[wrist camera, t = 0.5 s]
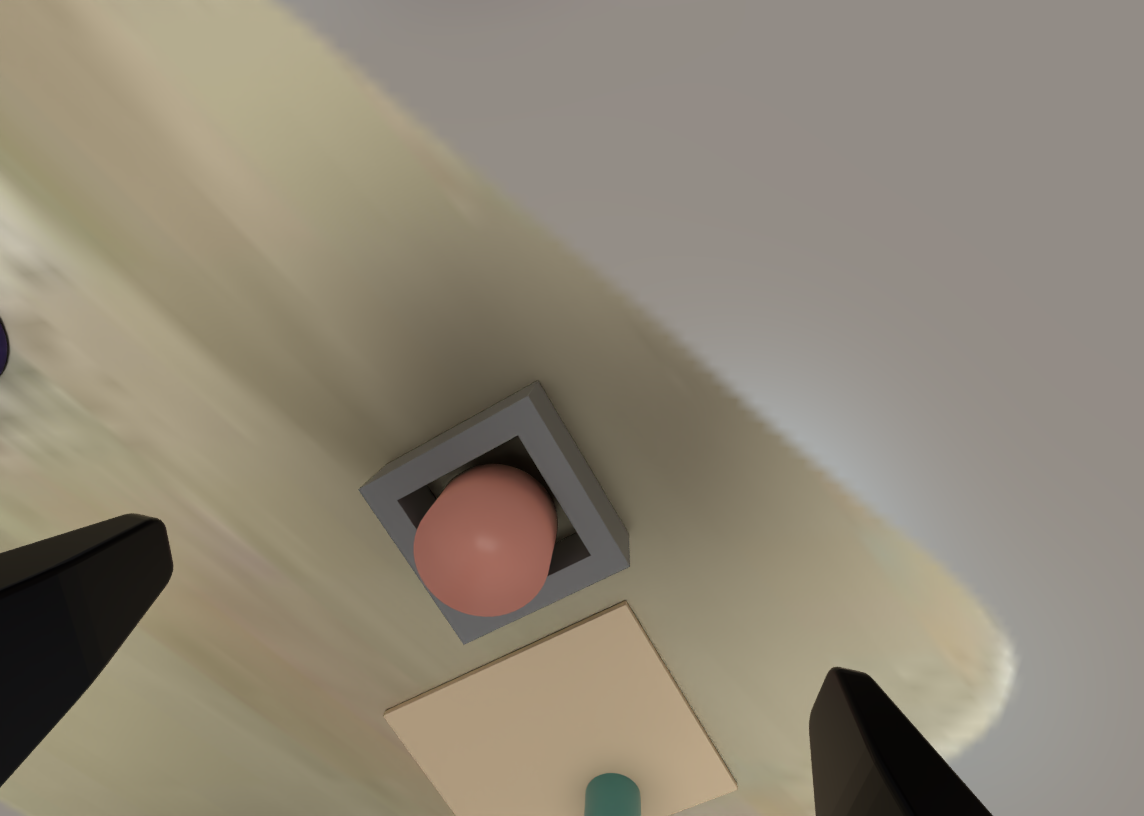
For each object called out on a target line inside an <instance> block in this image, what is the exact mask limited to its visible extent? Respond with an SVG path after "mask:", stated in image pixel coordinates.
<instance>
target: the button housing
mask: <svg viewBox="0 0 1144 816" xmlns="http://www.w3.org/2000/svg"><path fill="white" fill-rule="evenodd" d="M516 436H519V438H520V440H521V441H522V443H523V445H524V446H525V448H526V450H527V451H528V453H529V454H530V456H531V458H532V459H533V461H534V463H535V464H536V466H537V468H538V469H539V471H540V472H541V474H542V476H543V477H544V479H545V481H546V482H547V484H548V486H549V487H550V489H551V491H552V492H553V494H554V495H555V497H556V499H557V500H558V502H559V504H560V505H561V507H562V509H563V510H564V512H565V513H566V515H567V517H568V518H569V520H570V522H571V523H572V525H573V527H574V528H575V530H576V532H577V533H575V534H573V535H571V536H569V537H567V538H565V539H563V540H561V541H559V542H557V543H555V545H554V549H553V553H552V558H551V562H550V567H549V571H548V575H547V578H546V581H545V583H544V585H543V587H542V588H541V590H540V591H539V593H538V594H537V595H536V596H535V597H534V598H533V599H532V600H531V601H530V602H529V603H528V604H526V605H525V606H524V607H522V608H520V609H518V610H516V611H514V612H511V613H509V614H505V615H501V616H493V617H482V616H474V615H469V614H465V613H462V612H460V611H457V610H455V609H453V608H451V607H449V606H447V605H446V604H444V603H443V602H441V601H440V600H439V599H438V598H436V597H435V596H434V595H433V594H432V593H431V592H430V590H429V589H428V588H427V587H426V585H425V584H424V582H423V581H422V579H421V577H420V575H419V573H418V570H417V567H416V564H415V559H414V539H415V534H416V531H417V528H418V526H419V524H420V522H421V520H422V519H423V517H424V516H425V514H426V513H427V512H428V510H429V509H430V508H431V506H432V505H433V504H434V502H435V501H436V499H435V497H434V496H433V494H432V493H431V491H430V490H429V488H428V487H427V484H429V483H430V482H432V481H434V480H436V479H438V478H440V477H441V476H443V475H445V474H447V473H449V472H451V471H453V470H454V469H456V468H458V467H460V466H462V465H464V464H466V463H467V462H469V461H471V460H473V459H475V458H477V457H479V456H480V455H482V454H484V453H486V452H488V451H490V450H492V449H493V448H495V447H497V446H499V445H501V444H503V443H505V442H506V441H508V440H510V439H512V438H514V437H516ZM358 490H359V491H360V493H361V494H362V496H363V497H364V499H365V500H366V502H367V503H368V504H369V506H370V507H371V509H372V510H373V512H374V513H375V515H376V516H377V518H378V519H379V521H380V522H381V524H382V525H383V527H384V528H385V529H386V531H387V532H388V534H389V535H390V537H391V538H392V540H393V541H394V543H395V544H396V546H397V547H398V549H399V550H400V552H401V553H402V554H403V556H404V557H405V559H406V560H407V562H408V563H409V565H410V566H411V568H412V569H413V571H414V572H415V574H416V575H417V577H418V578H419V580H420V581H421V582H422V584H423V585H424V587H425V588H426V590H427V591H428V593H429V594H430V596H431V597H432V599H433V600H434V602H435V603H436V605H437V606H438V607H439V609H440V610H441V612H442V613H443V615H444V616H445V618H446V619H447V621H448V622H449V624H450V625H451V627H452V628H453V630H454V631H455V632H456V634H457V635H458V637H459V638H460V640H461V641H462V643H463V644H466V643H469V642H471V641H473V640H475V639H477V638H479V637H481V636H483V635H486V634H488V633H490V632H492V631H494V630H496V629H498V628H500V627H503V626H505V625H507V624H509V623H511V622H513V621H515V620H517V619H520V618H522V617H524V616H526V615H528V614H530V613H532V612H534V611H537V610H539V609H541V608H543V607H545V606H547V605H549V604H551V603H554V602H556V601H558V600H560V599H562V598H564V597H566V596H568V595H571V594H573V593H575V592H577V591H579V590H581V589H583V588H585V587H588V586H590V585H592V584H594V583H596V582H598V581H600V580H602V579H605V578H607V577H609V576H611V575H613V574H615V573H617V572H619V571H622V570H624V569H626V568H628V567H630V552H629V534H628V532H627V530H626V528H625V527H624V525H623V523H622V522H621V520H620V518H619V517H618V515H617V513H616V512H615V510H614V508H613V506H612V505H611V503H610V501H609V500H608V498H607V496H606V495H605V493H604V491H603V490H602V488H601V486H600V484H599V483H598V481H597V479H596V478H595V476H594V474H593V473H592V471H591V469H590V467H589V466H588V464H587V462H586V461H585V459H584V457H583V456H582V454H581V452H580V451H579V449H578V447H577V445H576V444H575V442H574V440H573V439H572V437H571V435H570V434H569V432H568V430H567V429H566V427H565V425H564V423H563V422H562V420H561V418H560V417H559V415H558V413H557V412H556V410H555V408H554V407H553V405H552V403H551V401H550V400H549V398H548V396H547V395H546V393H545V391H544V390H543V388H542V386H541V385H540V383H539V381H536V382H534V383H532V384H531V385H529V386H527V387H525V388H523V389H522V390H520V391H518V392H516V393H514V394H513V395H511V396H509V397H507V398H505V399H504V400H502V401H500V402H498V403H496V404H495V405H493V406H491V407H489V408H487V409H486V410H484V411H482V412H480V413H478V414H477V415H475V416H473V417H471V418H469V419H468V420H466V421H464V422H462V423H460V424H459V425H457V426H455V427H453V428H451V429H450V430H448V431H446V432H444V433H442V434H441V435H439V436H437V437H435V438H433V439H432V440H430V441H428V442H426V443H424V444H423V445H421V446H419V447H417V448H415V449H414V450H412V451H410V452H408V453H406V454H405V455H403V456H401V457H399V458H397V459H396V460H394V461H392V462H390V463H388V464H387V465H385V466H384V467H383V468H382V469H381V470H379V471H378V472H377V473H376V474H375V475H374V476H373V477H372V478H371V479H369V480H368V481H367V482H366V483H365V484H364V485H363V486H362V487H361V488H359V489H358Z"/></svg>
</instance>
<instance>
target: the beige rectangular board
mask: <svg viewBox="0 0 1144 816" xmlns="http://www.w3.org/2000/svg"><path fill="white" fill-rule="evenodd" d="M383 717H384V718H385V719H386V721H387V722H388V724H389V725H390V726H391V728H392V729H393V730H394V732H395V733H396V735H397V736H398V737H399V739H400V740H401V741H402V743H403V744H404V745H405V747H406V748H407V750H408V751H409V752H410V754H411V755H412V756H413V758H414V759H415V761H416V762H417V763H418V765H419V766H420V767H421V769H422V770H423V771H424V773H425V774H426V776H427V777H428V778H429V780H430V781H431V782H432V784H433V785H434V787H435V788H436V789H437V791H438V792H439V793H440V795H441V796H442V797H443V799H444V800H445V802H446V803H447V804H448V806H449V807H450V808H451V810H452V811H453V813H454V814H455V815H456V816H584V810H585V794H586V788H587V786H588V784H589V782H590V781H591V780H592V779H594V778H595V777H597V776H599V775H601V774H605V773H617V774H621V775H624V776H626V777H628V778H630V779H631V780H632V781H634V783H635V784H636V785H637V786H638V788H639V791H640V797H641V816H669V815H672V814H674V813H677V812H680V811H682V810H685V809H688V808H690V807H693V806H696V805H698V804H701V803H704V802H706V801H709V800H712V799H714V798H717V797H720V796H722V795H725V794H728V793H730V792H733V791H736V790H738V786H737V783H736V781H735V780H734V778H733V776H732V775H731V773H730V771H729V770H728V768H727V766H726V765H725V763H724V762H723V760H722V758H721V757H720V755H719V753H718V752H717V750H716V748H715V747H714V745H713V743H712V742H711V740H710V738H709V737H708V735H707V734H706V732H705V730H704V729H703V727H702V725H701V724H700V722H699V720H698V719H697V717H696V715H695V714H694V712H693V710H692V709H691V707H690V705H689V704H688V702H687V701H686V699H685V697H684V696H683V694H682V692H681V691H680V689H679V687H678V686H677V684H676V682H675V681H674V679H673V677H672V676H671V674H670V673H669V671H668V669H667V668H666V666H665V664H664V663H663V661H662V659H661V658H660V656H659V654H658V653H657V651H656V649H655V648H654V646H653V645H652V643H651V641H650V640H649V638H648V636H647V635H646V633H645V631H644V630H643V628H642V626H641V625H640V623H639V621H638V620H637V618H636V616H635V615H634V613H633V612H632V610H631V608H630V607H629V605H628V603H627V602H626V601H624V602H621V603H619V604H617V605H615V606H613V607H610V608H608V609H606V610H604V611H602V612H600V613H597V614H595V615H593V616H591V617H589V618H587V619H584V620H582V621H580V622H578V623H576V624H573V625H571V626H569V627H567V628H565V629H563V630H560V631H558V632H556V633H554V634H552V635H550V636H547V637H545V638H543V639H541V640H539V641H536V642H534V643H532V644H530V645H528V646H526V647H523V648H521V649H519V650H517V651H515V652H513V653H510V654H508V655H506V656H504V657H502V658H499V659H497V660H495V661H493V662H491V663H489V664H486V665H484V666H482V667H480V668H478V669H476V670H473V671H471V672H469V673H467V674H465V675H462V676H460V677H458V678H456V679H454V680H452V681H449V682H447V683H445V684H443V685H441V686H439V687H436V688H434V689H432V690H430V691H428V692H425V693H423V694H421V695H419V696H417V697H415V698H412V699H410V700H408V701H406V702H404V703H401V704H399V705H397V706H395V707H393V708H391V709H388V710H386V711H385V713H384V715H383Z"/></svg>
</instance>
